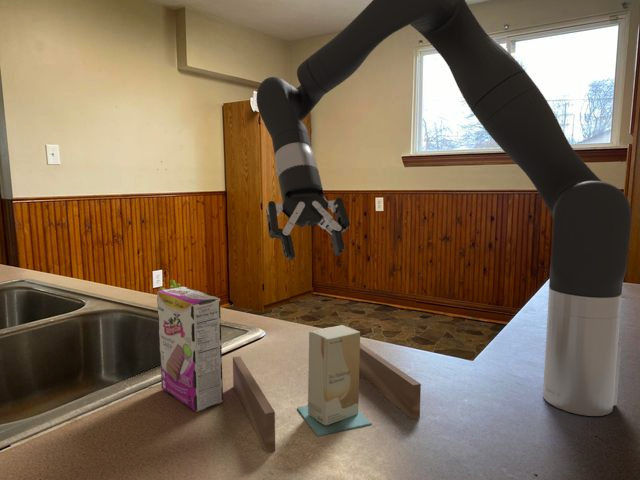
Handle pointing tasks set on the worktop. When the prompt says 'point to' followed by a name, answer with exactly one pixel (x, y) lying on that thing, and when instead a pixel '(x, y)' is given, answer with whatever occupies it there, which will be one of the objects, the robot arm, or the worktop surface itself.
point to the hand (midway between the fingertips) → (316, 256)
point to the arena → (263, 416)
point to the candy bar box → (190, 347)
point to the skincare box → (333, 374)
